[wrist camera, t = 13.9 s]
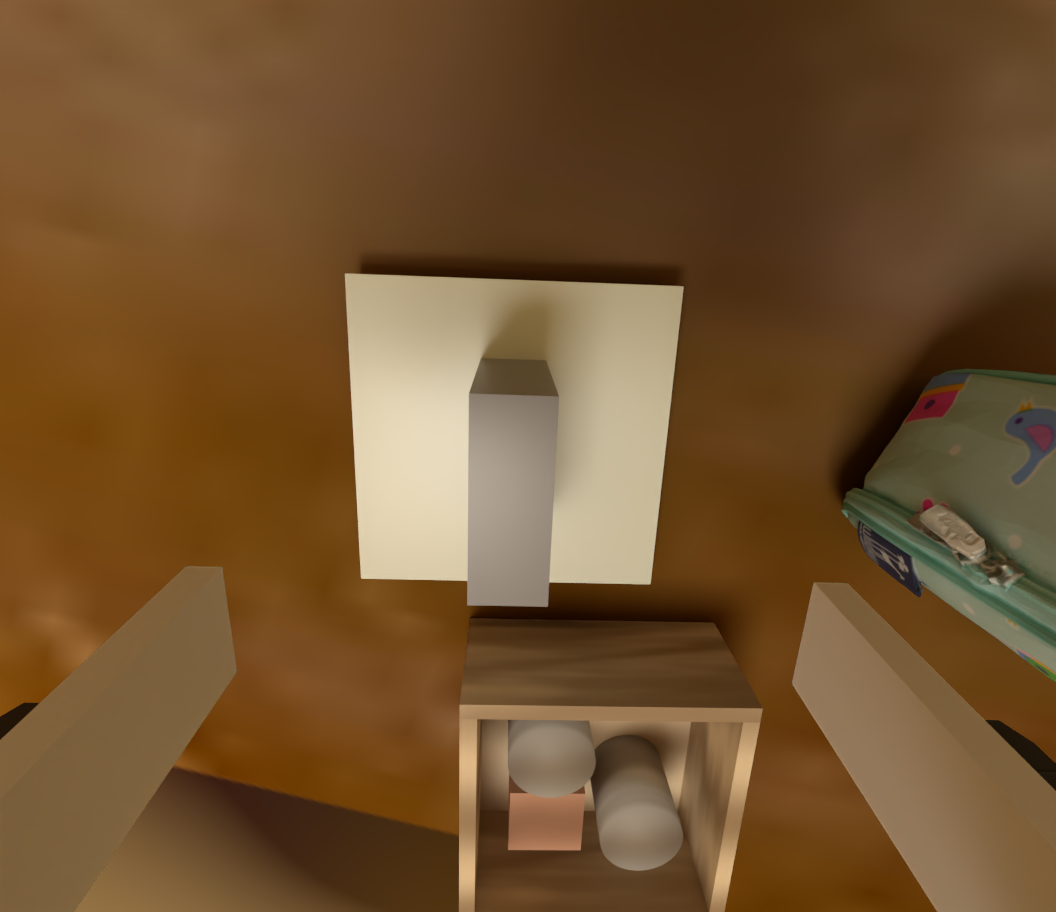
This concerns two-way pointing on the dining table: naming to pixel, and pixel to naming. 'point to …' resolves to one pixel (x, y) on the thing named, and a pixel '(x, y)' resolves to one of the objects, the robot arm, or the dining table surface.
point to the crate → (601, 766)
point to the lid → (509, 429)
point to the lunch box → (973, 504)
